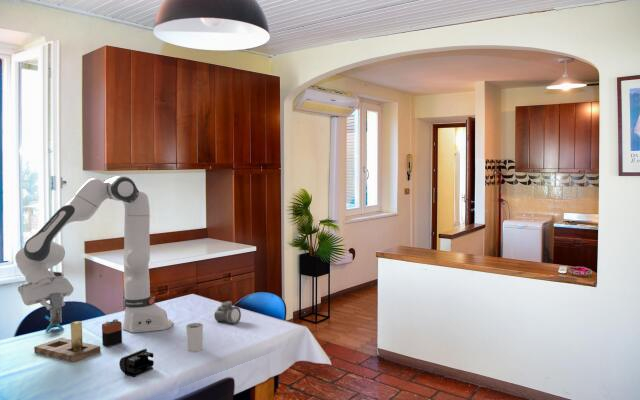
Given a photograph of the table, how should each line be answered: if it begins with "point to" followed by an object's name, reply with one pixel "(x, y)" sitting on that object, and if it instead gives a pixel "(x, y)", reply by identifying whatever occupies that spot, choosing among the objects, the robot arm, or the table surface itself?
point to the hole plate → (66, 350)
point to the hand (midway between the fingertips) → (56, 307)
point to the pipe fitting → (228, 313)
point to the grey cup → (194, 336)
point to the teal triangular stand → (52, 324)
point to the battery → (112, 333)
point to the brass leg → (76, 336)
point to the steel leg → (55, 308)
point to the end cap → (136, 363)
